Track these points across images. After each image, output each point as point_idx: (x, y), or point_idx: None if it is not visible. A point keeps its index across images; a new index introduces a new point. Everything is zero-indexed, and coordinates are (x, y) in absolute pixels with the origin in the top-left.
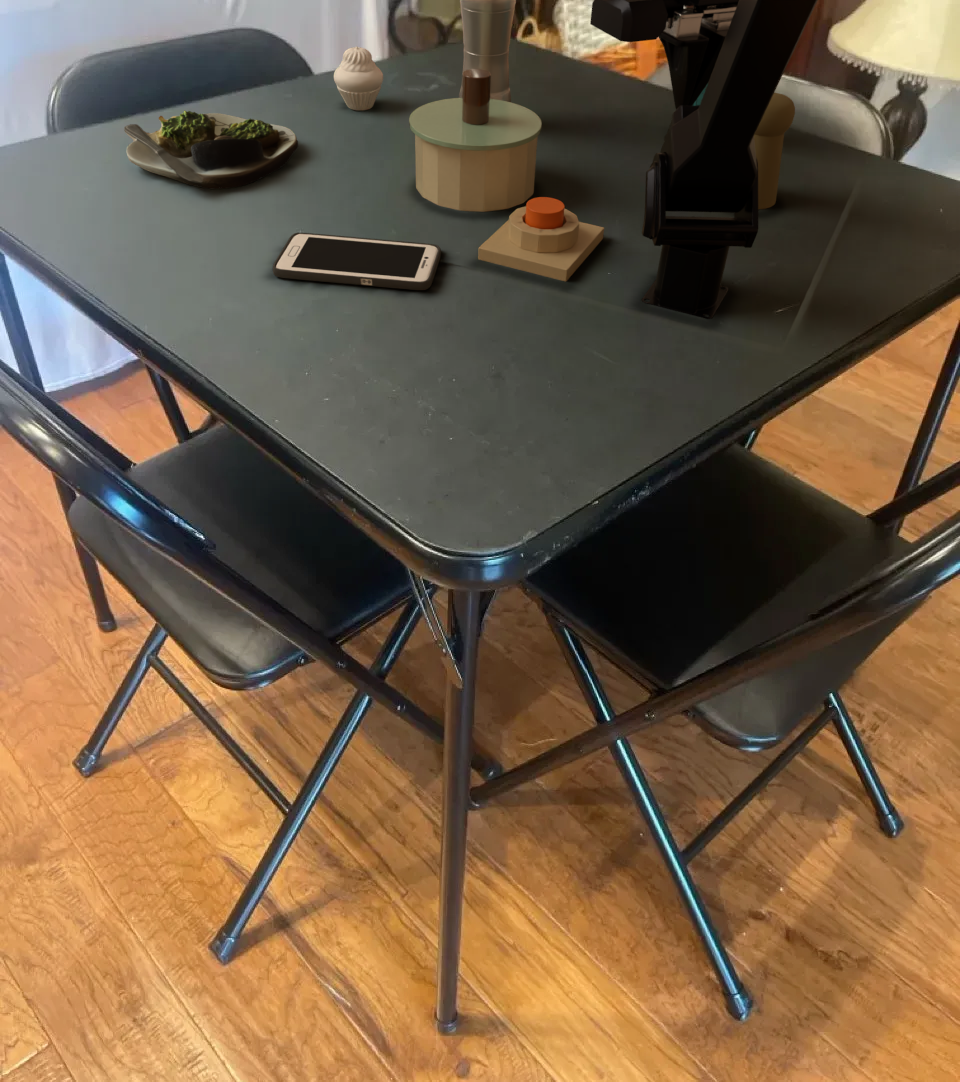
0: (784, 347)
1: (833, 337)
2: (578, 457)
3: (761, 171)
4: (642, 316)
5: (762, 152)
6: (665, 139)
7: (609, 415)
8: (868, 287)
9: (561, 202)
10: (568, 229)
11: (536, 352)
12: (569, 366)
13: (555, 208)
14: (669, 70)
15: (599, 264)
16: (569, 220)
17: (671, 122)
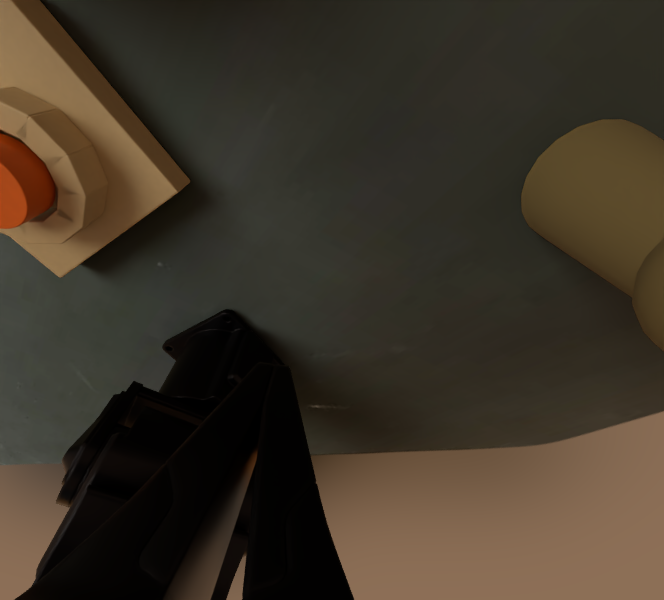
0: None
1: (326, 446)
2: (28, 442)
3: (585, 265)
4: (159, 353)
5: (610, 281)
6: (67, 513)
7: (66, 427)
8: (447, 421)
9: (22, 196)
10: (53, 237)
11: (11, 348)
12: (44, 376)
13: (2, 214)
14: (161, 467)
15: (156, 236)
16: (64, 207)
17: (46, 561)
